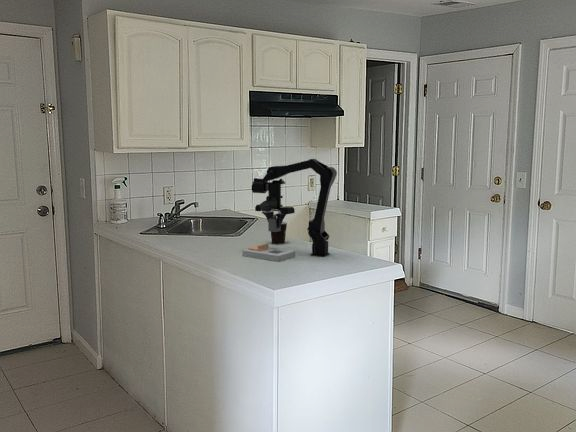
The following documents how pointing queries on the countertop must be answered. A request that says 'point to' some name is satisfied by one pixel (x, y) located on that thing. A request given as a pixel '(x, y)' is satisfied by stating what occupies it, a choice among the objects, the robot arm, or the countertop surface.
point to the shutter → (259, 247)
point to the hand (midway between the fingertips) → (274, 227)
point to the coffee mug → (279, 235)
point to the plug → (273, 224)
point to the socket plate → (270, 254)
